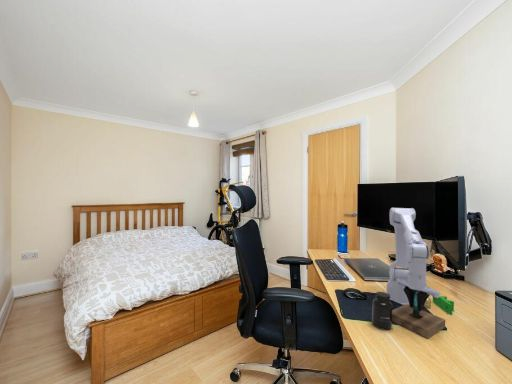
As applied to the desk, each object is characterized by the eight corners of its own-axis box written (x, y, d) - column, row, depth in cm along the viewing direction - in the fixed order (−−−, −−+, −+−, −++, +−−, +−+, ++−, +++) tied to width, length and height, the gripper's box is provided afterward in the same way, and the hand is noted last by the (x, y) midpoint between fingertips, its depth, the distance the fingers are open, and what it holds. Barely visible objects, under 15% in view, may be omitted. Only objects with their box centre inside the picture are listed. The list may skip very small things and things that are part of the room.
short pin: (422, 306, 105) (423, 297, 105) (425, 305, 106) (425, 296, 106) (429, 309, 103) (429, 300, 103) (431, 307, 104) (431, 298, 104)
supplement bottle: (384, 332, 85) (385, 299, 85) (368, 322, 91) (368, 292, 91) (396, 327, 89) (396, 296, 88) (379, 318, 95) (379, 289, 95)
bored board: (387, 319, 94) (388, 312, 94) (406, 310, 101) (406, 303, 101) (427, 338, 82) (427, 330, 82) (445, 327, 89) (445, 319, 89)
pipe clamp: (458, 315, 98) (459, 305, 98) (449, 315, 99) (449, 304, 99) (441, 302, 109) (441, 293, 109) (432, 302, 110) (432, 292, 110)
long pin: (411, 312, 92) (411, 292, 92) (414, 311, 93) (415, 291, 93) (417, 315, 90) (418, 295, 90) (421, 314, 91) (421, 294, 91)
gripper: (392, 270, 96) (391, 303, 96) (433, 282, 83) (432, 320, 83) (401, 267, 99) (401, 299, 99) (442, 278, 87) (441, 315, 87)
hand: (416, 308), depth 91 cm, fingers closed on long pin, 2 cm apart
